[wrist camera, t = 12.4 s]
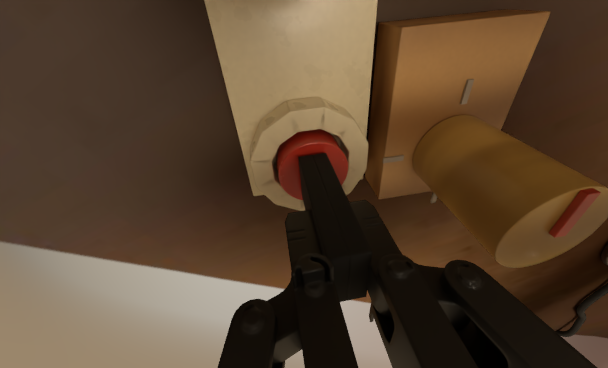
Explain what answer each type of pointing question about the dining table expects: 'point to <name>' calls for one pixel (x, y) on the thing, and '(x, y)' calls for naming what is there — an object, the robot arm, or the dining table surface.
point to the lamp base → (296, 79)
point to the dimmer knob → (508, 191)
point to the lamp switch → (304, 146)
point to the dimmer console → (442, 83)
